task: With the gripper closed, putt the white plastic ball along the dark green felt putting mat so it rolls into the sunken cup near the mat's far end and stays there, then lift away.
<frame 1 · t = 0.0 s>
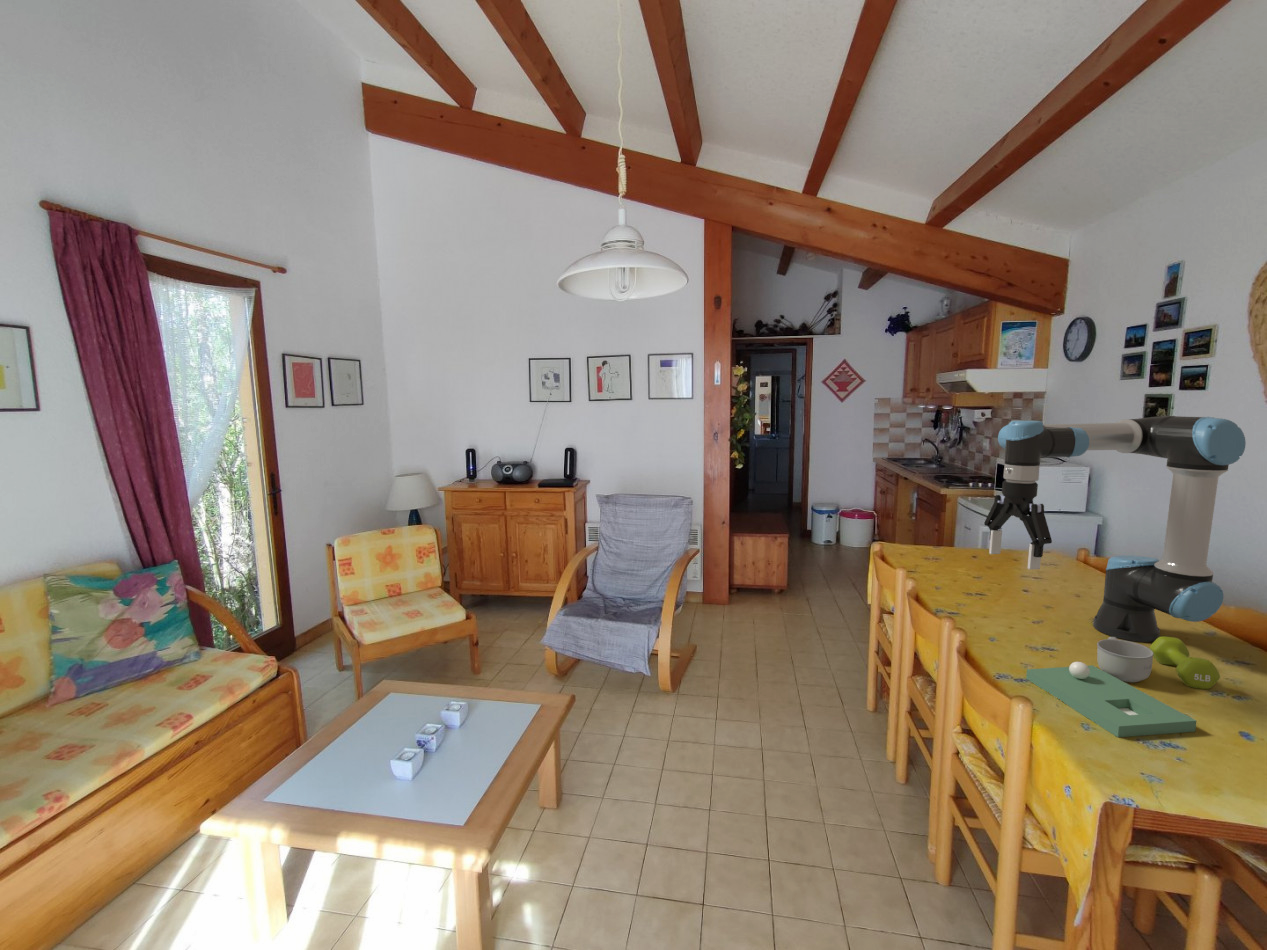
hand: (1013, 561, 150), 28 cm above the table, fingers open, 13 cm apart
dumbbell: (1181, 675, 146), on the table
putting mat: (1103, 702, 134), on the table
ball: (1079, 670, 140), point 4 cm above the table, touching putting mat
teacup: (1120, 674, 147), on the table
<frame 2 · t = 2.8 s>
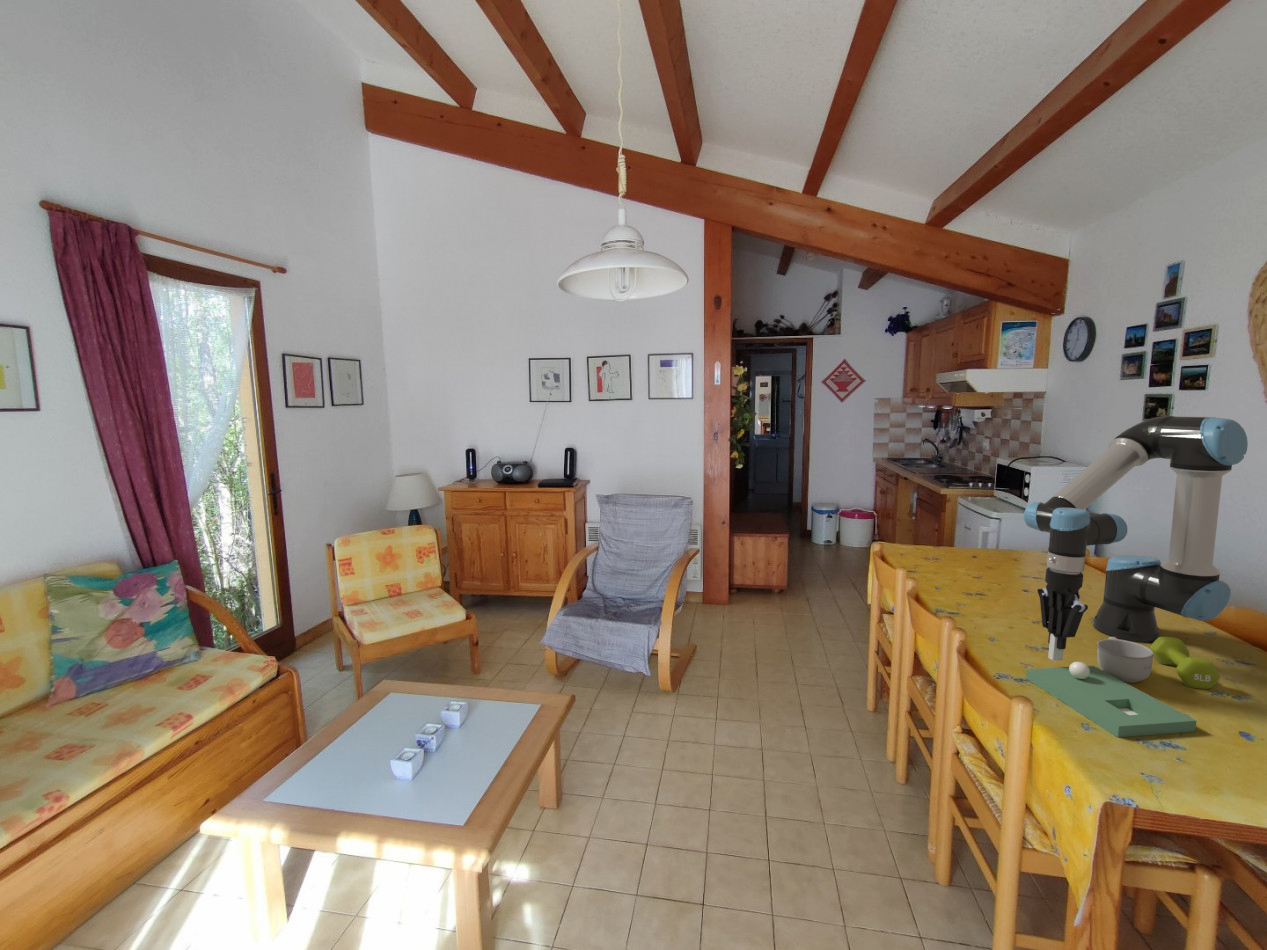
hand: (1055, 658, 147), 4 cm above the table, fingers closed
nothing on the table moved.
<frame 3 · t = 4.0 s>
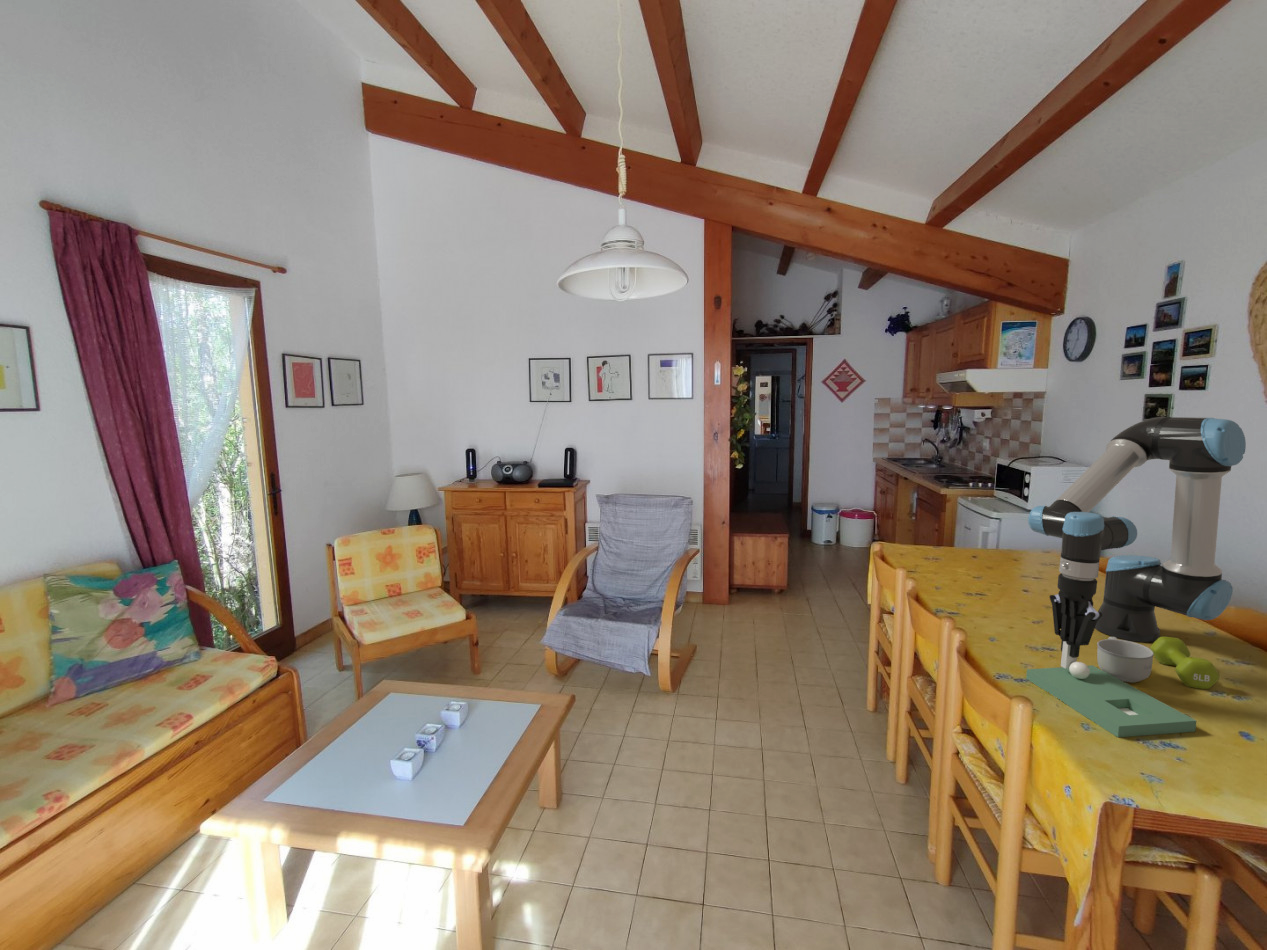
hand: (1068, 667, 143), 4 cm above the table, fingers closed
nothing on the table moved.
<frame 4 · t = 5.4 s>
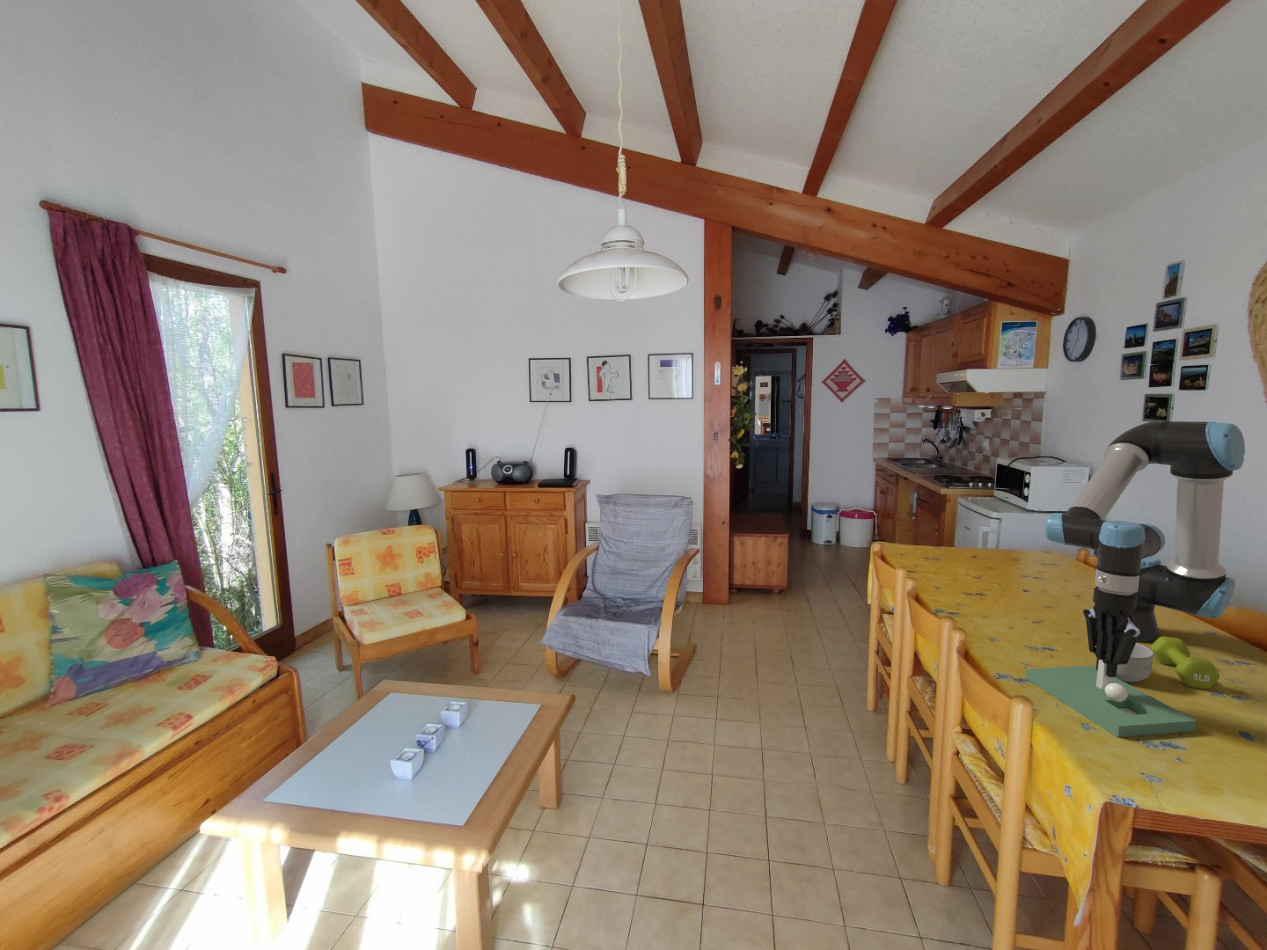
hand: (1104, 687, 133), 4 cm above the table, fingers closed
ball: (1116, 692, 130), point 4 cm above the table, tilted 67°, touching putting mat
everything else where it was.
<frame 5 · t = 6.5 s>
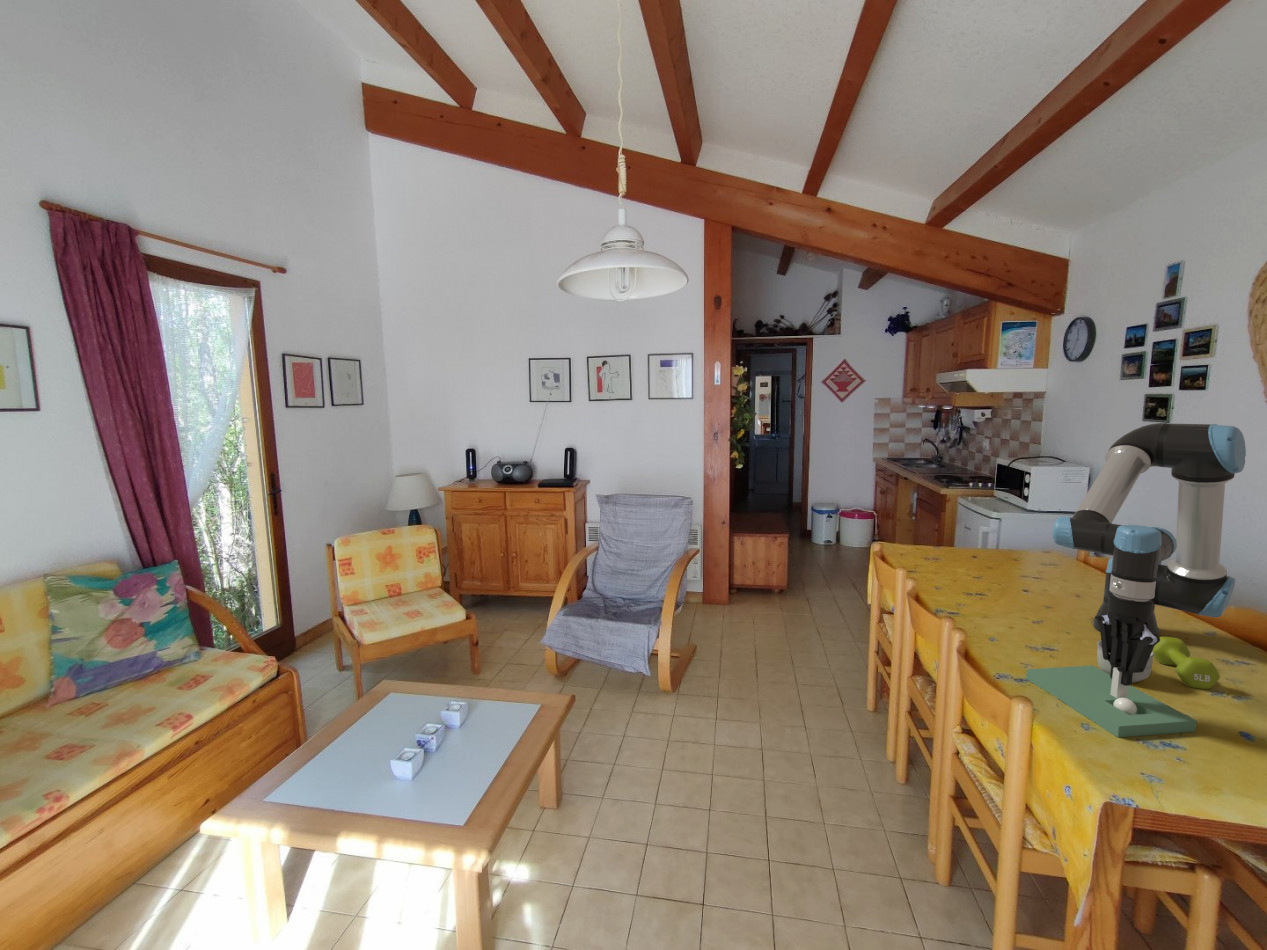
hand: (1118, 695, 130), 4 cm above the table, fingers closed
ball: (1124, 707, 128), point 2 cm above the table, tilted 28°, touching gripper, putting mat
everything else where it was.
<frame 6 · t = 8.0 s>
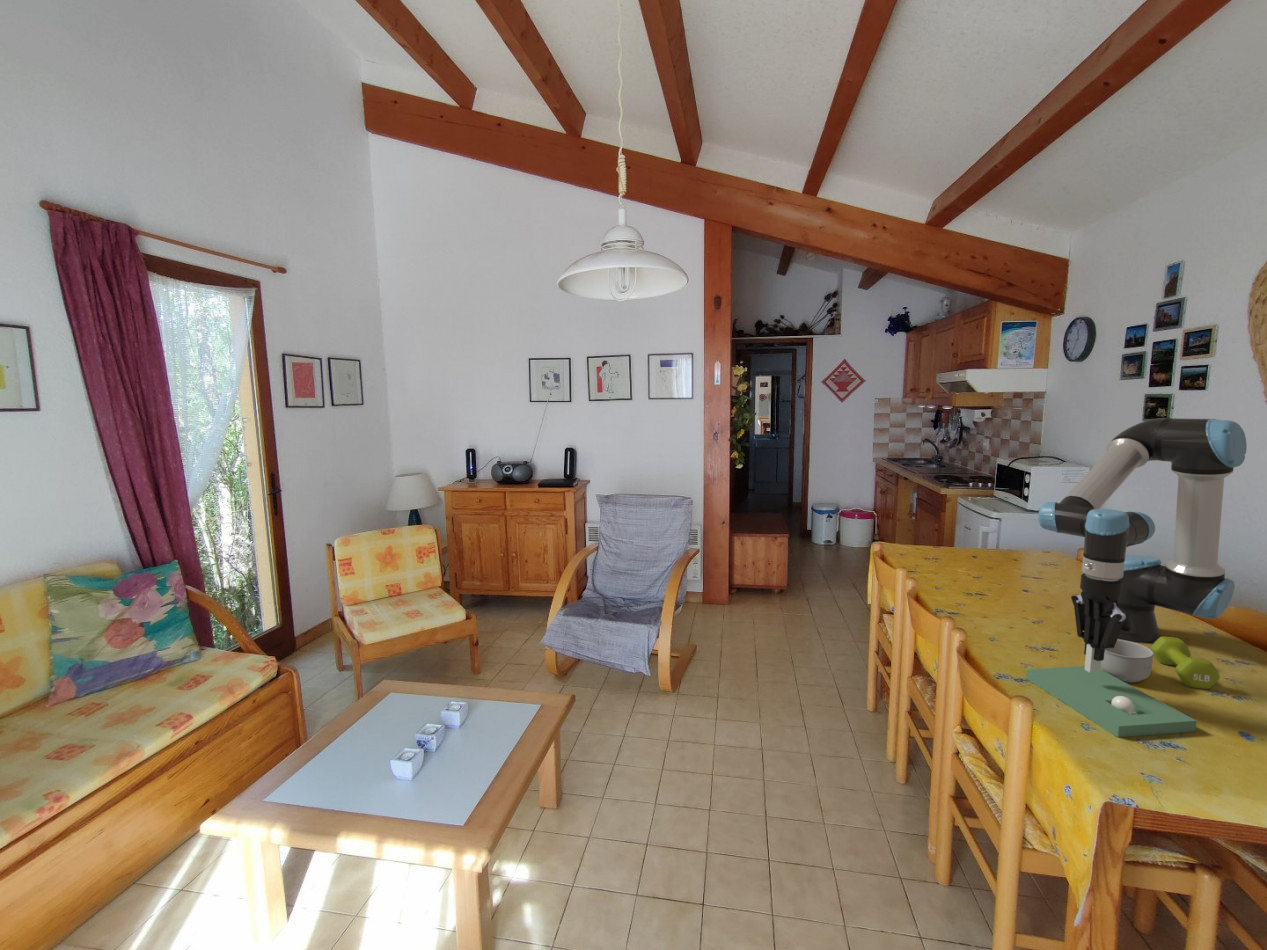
hand: (1092, 670, 137), 6 cm above the table, fingers closed
ball: (1122, 705, 128), point 2 cm above the table, tilted 11°, touching putting mat
everything else where it was.
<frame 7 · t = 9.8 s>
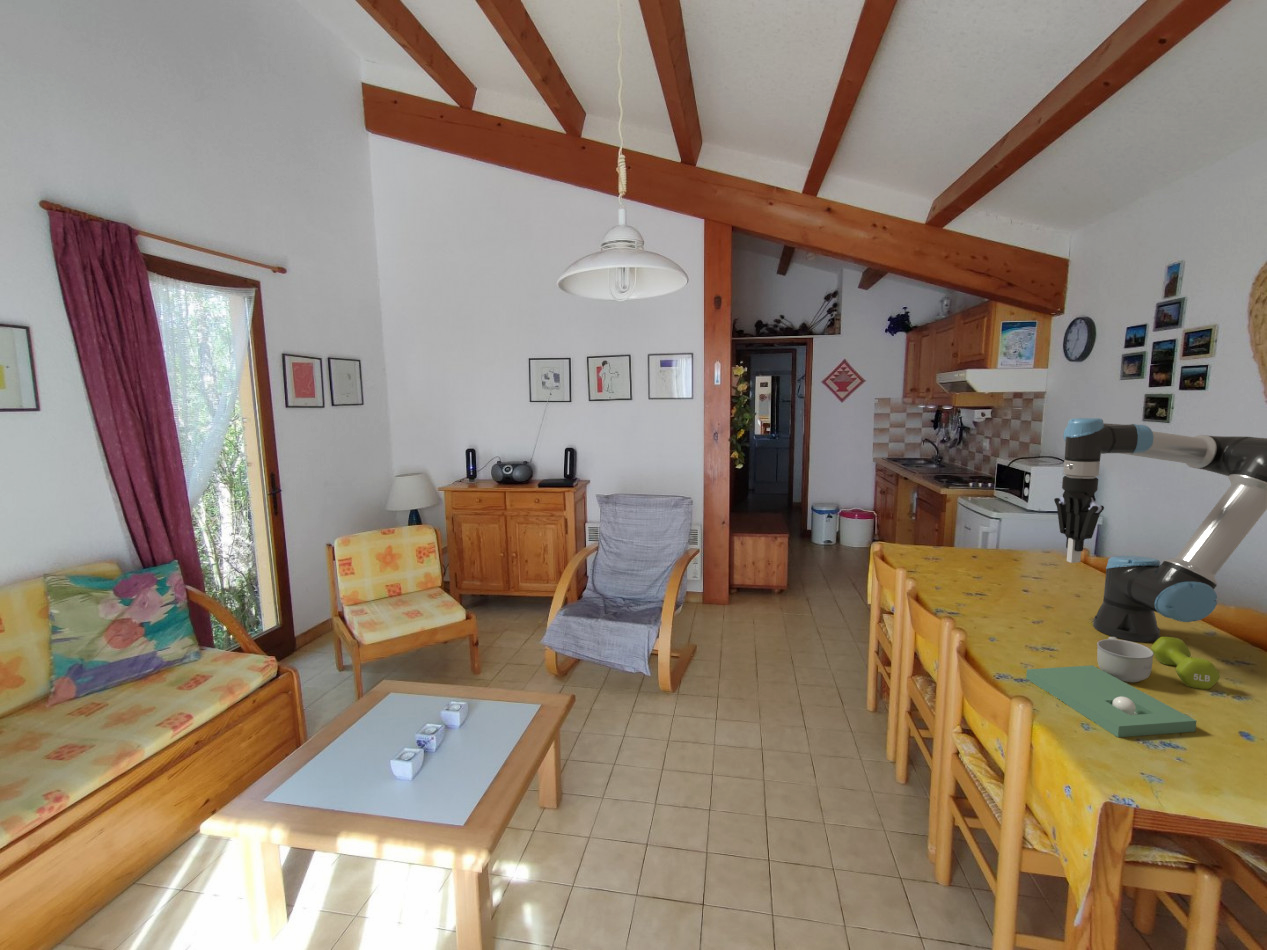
hand: (1073, 561, 156), 26 cm above the table, fingers closed
ball: (1123, 706, 128), point 2 cm above the table, tilted 17°, touching putting mat
everything else where it was.
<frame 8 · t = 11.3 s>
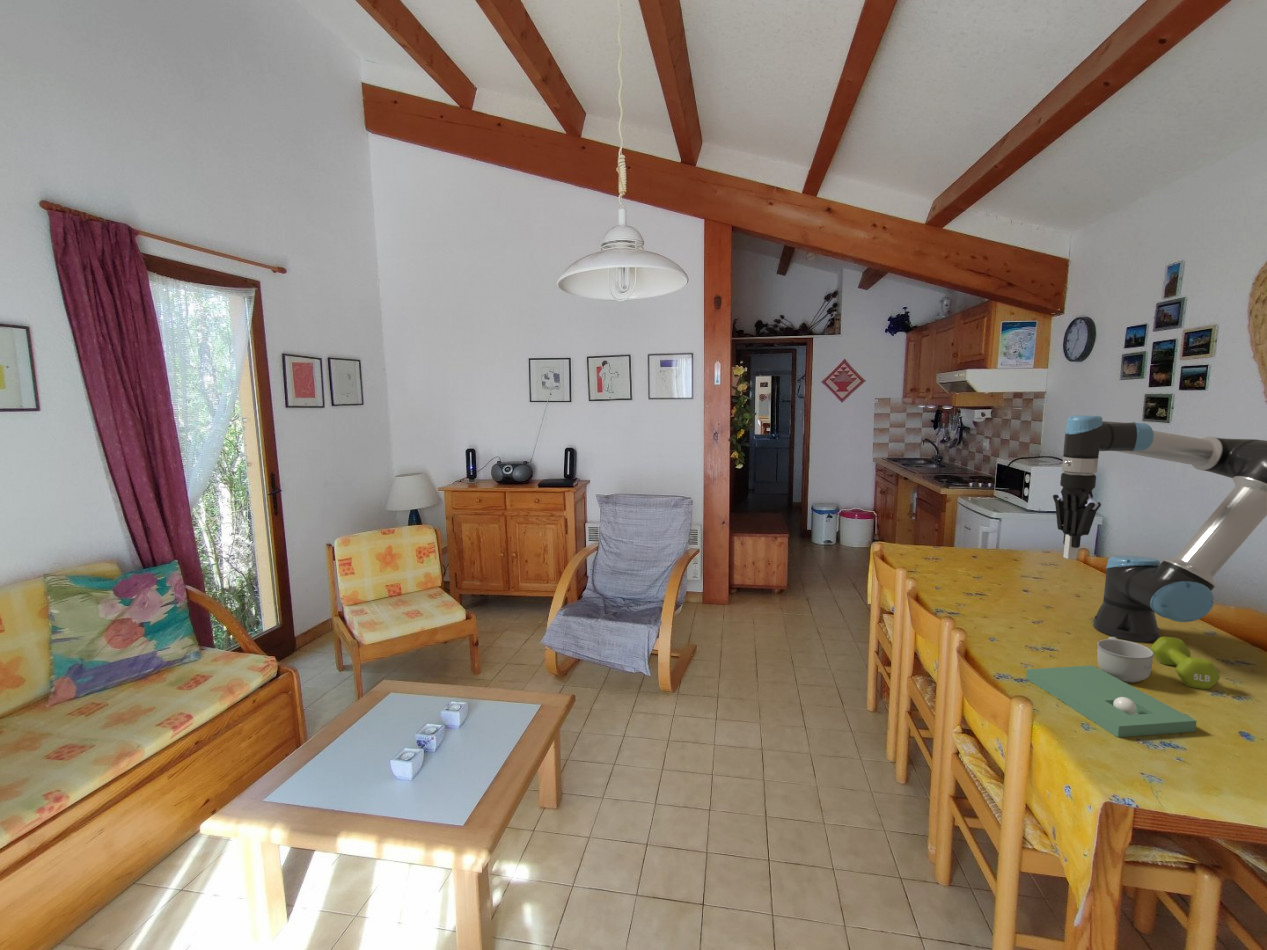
hand: (1070, 557, 158), 26 cm above the table, fingers closed
ball: (1124, 706, 128), point 2 cm above the table, tilted 22°, touching putting mat
everything else where it was.
at the end: ball 0.7 cm from the target spot on the putting mat, point 2.3 cm above the putting mat's base; ball moved 12.7 cm from its start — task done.
